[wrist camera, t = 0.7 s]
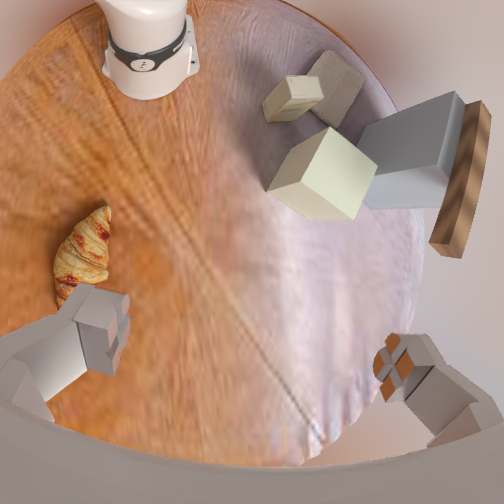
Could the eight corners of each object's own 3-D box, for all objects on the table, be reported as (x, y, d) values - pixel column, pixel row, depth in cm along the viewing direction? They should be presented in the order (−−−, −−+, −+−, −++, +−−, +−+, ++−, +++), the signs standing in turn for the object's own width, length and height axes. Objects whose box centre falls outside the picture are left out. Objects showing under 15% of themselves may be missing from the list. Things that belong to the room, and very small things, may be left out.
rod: (441, 255, 33) (461, 258, 30) (428, 242, 32) (448, 244, 29) (476, 119, 35) (491, 115, 31) (465, 104, 34) (481, 100, 30)
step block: (308, 220, 56) (353, 220, 42) (265, 192, 53) (300, 181, 39) (330, 177, 56) (377, 166, 42) (290, 148, 54) (329, 126, 39)
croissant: (100, 201, 49) (73, 188, 41) (138, 220, 47) (112, 208, 39) (60, 303, 48) (30, 303, 40) (93, 331, 46) (63, 335, 38)
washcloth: (362, 80, 58) (369, 76, 55) (334, 133, 57) (341, 129, 54) (322, 49, 54) (329, 43, 51) (288, 99, 53) (293, 93, 50)
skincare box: (265, 123, 52) (290, 99, 40) (260, 102, 51) (283, 74, 40) (295, 120, 54) (325, 99, 42) (290, 100, 53) (318, 75, 41)
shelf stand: (371, 209, 60) (470, 207, 35) (338, 183, 57) (436, 164, 32) (395, 153, 61) (485, 132, 36) (365, 125, 58) (454, 90, 33)
